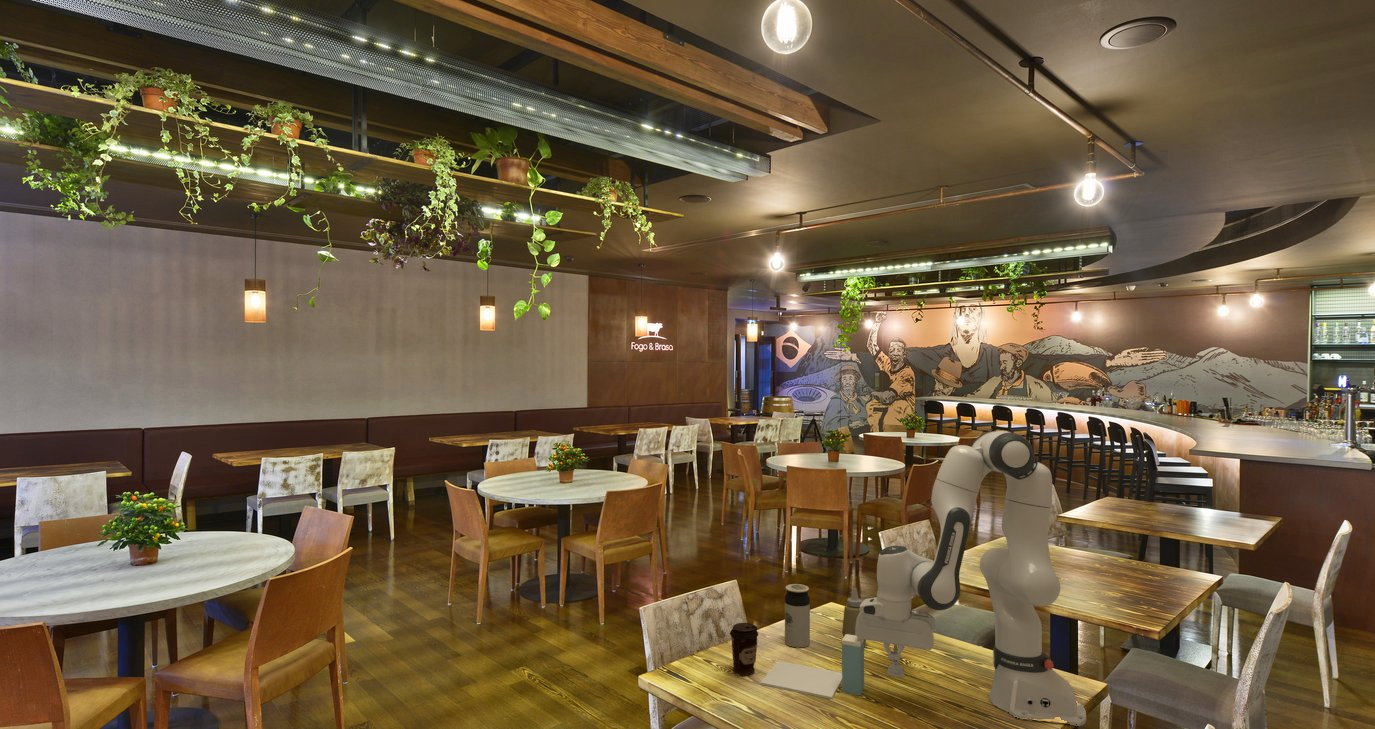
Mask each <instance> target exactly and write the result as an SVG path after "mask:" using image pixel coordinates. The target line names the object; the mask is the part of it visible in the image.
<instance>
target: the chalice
mask: <svg viewBox="0 0 1375 729" xmlns="http://www.w3.org/2000/svg"><path fill="white" fill-rule="evenodd" d="M892 650H893V652H898V651H899V649H898V645H895V644H893V648H892ZM888 666H889V667H888V668H887V670H886V674H888V675H889V676H891V677H894V678H895V677H896V678H901V677H905V675H906V674H905V672H904V668H903V666H902V665H901V664H899V661H894V660H893V662H892V663H890V664H889V665H888Z"/></svg>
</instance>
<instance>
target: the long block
mask: <svg viewBox="0 0 1375 729" xmlns="http://www.w3.org/2000/svg"><path fill="white" fill-rule="evenodd" d="M841 673H842V682H841V692H842V693H845V694H851V695H857V696H862V693H863V691H864V689H865V645H864V639H859V638H857V636H855V635H849V634H846V635H845V636H844V637H843V638H842V639H841Z"/></svg>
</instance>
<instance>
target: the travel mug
mask: <svg viewBox="0 0 1375 729" xmlns="http://www.w3.org/2000/svg"><path fill="white" fill-rule="evenodd" d="M785 590H786V594H785V596H784V643H785V645H787V646H789V647H791V646H792V648H796V647H798V649H799V648H800V649H801V648H805V647H808V646H810V645H811V635H810V634H811V628H810V627H811V614H810V613H811V606H810V605H811V597H810V596H809V590H810V588H809V586H808V585H804V584H801V583H800V584H799V583H791V584H787V585H786V586H785Z"/></svg>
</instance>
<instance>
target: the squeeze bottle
mask: <svg viewBox="0 0 1375 729" xmlns="http://www.w3.org/2000/svg"><path fill="white" fill-rule="evenodd" d="M846 602H847V604H846V605H845V606H844V610H843V620H842V629H841V631H842V632H841V635H842V636H843V638H844V636H845V635H846V634H849V635H855V626H856V620H857V616H858V615H859V613H860V605H861V603H862V602H863V600H862V598H859V593H858V589H857V587H853V588H852V591H851V596H850V597H848V598H847V601H846ZM855 636H856V635H855ZM866 642H867V640H865V639H864V646H865V644H866Z"/></svg>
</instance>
